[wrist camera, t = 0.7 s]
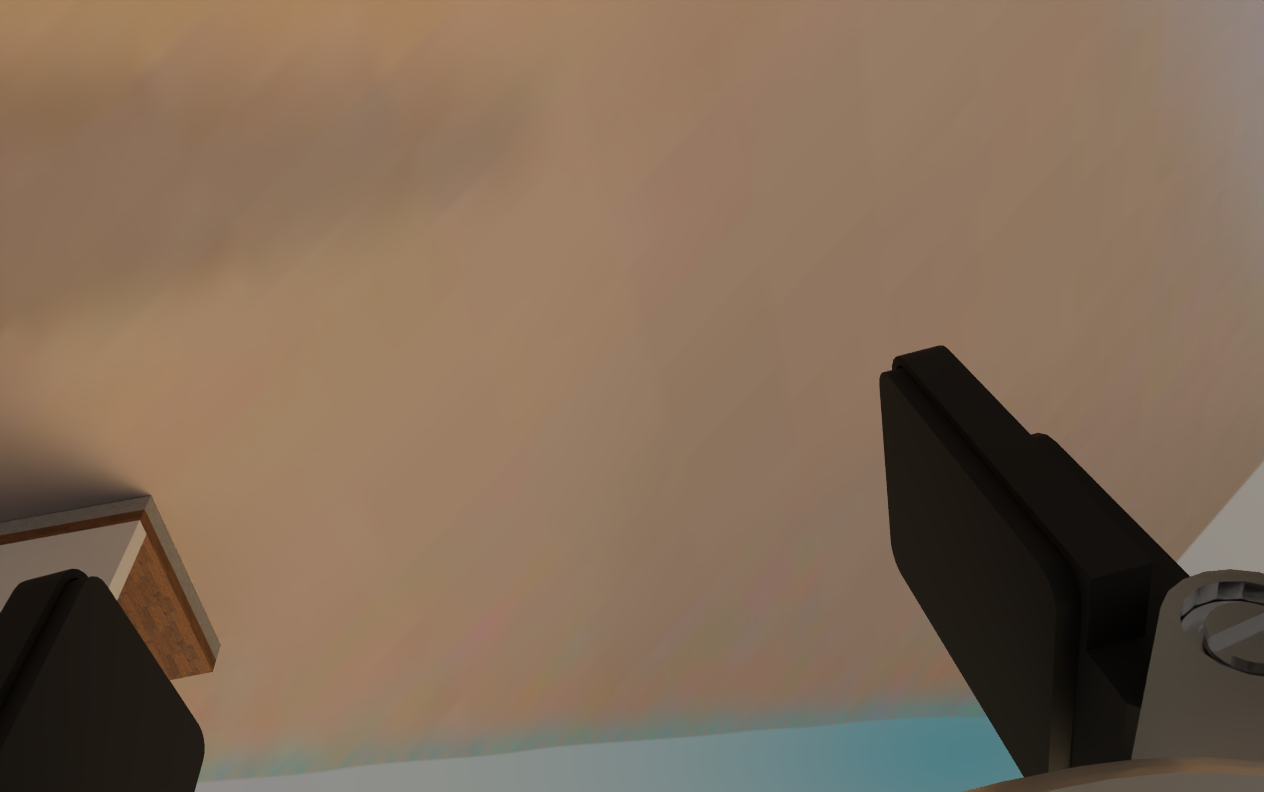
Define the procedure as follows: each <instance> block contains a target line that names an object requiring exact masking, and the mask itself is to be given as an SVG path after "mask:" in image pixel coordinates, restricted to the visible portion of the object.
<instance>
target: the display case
mask: <svg viewBox="0 0 1264 792" xmlns="http://www.w3.org/2000/svg"><path fill="white" fill-rule="evenodd" d="M68 569H79V570H81V571H82V572H84V573H85V574H86V575H87V576H88V577H91V576H96V577H99V578H100V579H102V580H103V581H104V582H105V584H106V585H107V586H108V588H109V589H110V591H111V592H112V594H113V595H114V597H115V598H116V600H117V601H118V603H119V604H120V606H121V607H122V609H123V610H124V612H125V613H126V615H127V616H128V618H129V620H130V621H131V623H132V624H133V626H134V627H135V629H136V630H137V632H138V633H139V635H140V636H141V638H142V639H143V641H144V642H145V644H146V645H147V647H148V648H149V650H150V651H151V653H152V654H153V656H154V657H155V659H156V661H157V662H158V664H159V665H160V667H161V668H162V670H163V671H164V673H165V674H166V676H167V677H168V679H169V680H173V679H178V678H183V677H188V676H193V675H198V674H204V673H209V672H213V669H214V665H215V662H216V658H217V655H218V652H219V648H220V643H219V641H218V638H217V636H216V634H215V632H214V630H213V628H212V626H211V623H210V621H209V619H208V617H207V615H206V613H205V611H204V608H203V606H202V604H201V602H200V600H199V598H198V595H197V593H196V591H195V589H194V587H193V585H192V583H191V580H190V578H189V576H188V574H187V572H186V570H185V567H184V565H183V563H182V561H181V559H180V557H179V555H178V552H177V550H176V548H175V546H174V544H173V542H172V539H171V537H170V535H169V533H168V531H167V529H166V527H165V524H164V522H163V520H162V518H161V516H160V514H159V512H158V509H157V507H156V505H155V503H154V501H153V499H152V496H146V497H141V498H135V499H129V500H124V501H118V502H113V503H107V504H102V505H96V506H90V507H85V508H79V509H74V510H68V511H62V512H57V513H51V514H46V515H40V516H35V517H29V518H23V519H18V520H12V521H7V522H1V523H0V612H1V610H2V609H3V607H4V605H5V604H6V602H7V600H8V599H9V597H10V595H11V594H12V592H13V590H14V589H15V588H16V587H17V585H18V584H19V583H21V582H23V581H26V580H29V579H33V578H37V577H41V576H45V575H49V574H53V573H57V572H60V571H64V570H68Z"/></svg>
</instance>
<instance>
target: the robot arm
mask: <svg viewBox="0 0 1264 792" xmlns="http://www.w3.org/2000/svg"><path fill="white" fill-rule="evenodd" d="M880 399H881V413H882V426H883V440H884V454H885V467H886V481H887V495H888V509H889V522H890V536H891V546H892V551H893V555H894V558H895V561H896V564H897V566H898V569H899V571H900V573H901V575H902V576H903V578H904V579H905V581H906V583H907V584H908V586H909V588H910V589H911V591H912V593H913V594H914V596H915V598H916V599H917V601H918V603H919V604H920V606H921V608H922V609H923V611H924V613H925V614H926V616H927V618H928V619H929V621H930V622H931V624H932V626H933V627H934V629H935V631H936V632H937V634H938V636H939V637H940V639H941V641H942V642H943V644H944V646H945V647H946V649H947V651H948V652H949V654H950V656H951V657H952V659H953V661H954V662H955V664H956V665H957V667H958V669H959V670H960V672H961V674H962V675H963V677H964V679H965V680H966V682H967V684H968V685H969V687H970V689H971V690H972V692H973V694H974V695H975V697H976V699H977V700H978V702H979V704H980V705H981V707H982V708H983V710H984V712H985V713H986V715H987V717H988V718H989V720H990V722H991V723H992V725H993V727H994V728H995V730H996V732H997V733H998V735H999V737H1000V738H1001V740H1002V741H1003V743H1004V745H1005V747H1006V748H1007V750H1008V751H1009V753H1010V755H1011V756H1012V758H1013V760H1014V761H1015V763H1016V765H1017V766H1018V768H1019V770H1020V771H1021V773H1022V775H1023V776H1024V778H1019V779H1014V780H1010V781H1004V782H1000V783H996V784H992V785H988V786H984V787H980V788H976V789H972V790H968V791H964V792H1264V574H1263V573H1260V572H1251V571H1242V570H1232V569H1230V570H1218V571H1207V572H1203V573H1200V574H1197V575H1194V576H1191V577H1190V576H1189V575H1188V574H1187V573H1186V572H1185V571H1184V570H1183V569H1182V568H1181V567H1180V566H1179V565H1178V564H1177V563H1176V562H1175V561H1174V560H1173V559H1172V558H1171V557H1170V556H1169V555H1168V554H1167V553H1166V552H1165V551H1164V550H1163V549H1162V548H1161V547H1160V546H1159V545H1158V544H1157V543H1156V542H1155V541H1154V540H1153V539H1152V538H1151V537H1150V536H1149V535H1148V534H1147V533H1146V532H1145V531H1144V530H1143V529H1142V528H1141V527H1140V526H1139V525H1138V524H1137V523H1136V522H1135V521H1134V520H1133V519H1132V518H1131V517H1130V516H1129V515H1128V514H1127V513H1126V512H1125V511H1124V510H1123V509H1122V508H1121V507H1120V506H1119V505H1118V504H1117V503H1116V502H1115V501H1114V500H1113V499H1112V498H1111V497H1110V496H1109V495H1108V494H1107V493H1106V492H1105V491H1104V490H1103V489H1102V488H1101V487H1100V485H1099V484H1098V483H1097V482H1096V481H1095V480H1094V479H1093V478H1092V477H1091V476H1090V475H1089V474H1088V473H1087V472H1086V471H1085V470H1084V469H1083V468H1082V467H1081V466H1080V465H1079V464H1078V463H1077V462H1076V461H1075V460H1074V459H1073V458H1072V457H1071V456H1070V455H1069V454H1068V453H1067V452H1066V451H1065V450H1064V449H1063V448H1062V447H1061V446H1060V445H1059V444H1058V443H1057V442H1056V441H1054V440H1053V439H1052V438H1050V437H1049V436H1048V435H1046V434H1041V433H1036V434H1032V435H1030V434H1029V433H1028V431H1027V430H1026V429H1025V428H1024V427H1023V426H1022V425H1021V424H1020V423H1019V422H1018V421H1017V420H1016V419H1015V418H1014V417H1013V416H1012V415H1011V414H1010V413H1009V412H1008V411H1007V410H1006V409H1005V408H1004V407H1003V406H1002V404H1001V403H1000V402H999V401H998V400H997V399H996V398H995V397H994V396H993V395H992V394H991V393H990V392H989V391H988V390H987V389H986V388H985V387H984V386H983V385H982V384H981V383H980V382H979V381H978V380H977V379H976V377H975V376H974V375H973V374H972V373H971V372H970V371H969V370H968V369H967V368H966V367H965V366H964V365H963V364H962V363H961V362H960V361H959V360H958V359H957V358H956V357H955V356H954V355H953V354H952V353H951V352H950V351H949V349H947V348H946V347H945V346H935V347H932V348H928V349H924V350H920V351H916V352H912V353H908V354H904V355H900V356H897V357H895V359H894V360H893V364H892V370H891V371H887V372H883V373H882V374H881V375H880ZM204 747H205V745H204V738H203V734H202V731H201V728H200V726H199V724H198V723H197V721H196V720H195V718H194V717H193V715H192V714H191V712H190V711H189V709H188V708H187V706H186V705H185V703H184V702H183V700H182V698H181V697H180V695H179V694H178V692H177V691H176V689H175V688H174V686H173V685H172V683H171V682H170V680H169V679H168V677H167V676H166V674H165V673H164V671H163V670H162V668H161V667H160V665H159V664H158V662H157V661H156V659H155V657H154V656H153V654H152V653H151V651H150V650H149V648H148V647H147V645H146V644H145V642H144V641H143V639H142V638H141V636H140V635H139V633H138V632H137V630H136V629H135V627H134V626H133V624H132V623H131V621H130V620H129V618H128V616H127V615H126V613H125V612H124V610H123V609H122V607H121V606H120V604H119V603H118V601H117V600H116V598H115V597H114V595H113V594H112V592H111V591H110V589H109V588H108V586H107V585H106V584H105V582H104V581H103V580H102V579H100V578H99V577H96V576H91V577H88V576H87V575H86V574H85V573H84V572H82V571H81V570H79V569H68V570H64V571H60V572H57V573H53V574H49V575H45V576H41V577H37V578H33V579H29V580H26V581H23V582H21V583H19V584H18V585H17V587H16V588H15V589H14V590H13V592H12V594H11V595H10V597H9V599H8V600H7V602H6V604H5V605H4V607H3V609H2V610H1V612H0V792H194V791H195V788H196V784H197V780H198V777H199V773H200V770H201V766H202V762H203V758H204Z"/></svg>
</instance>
